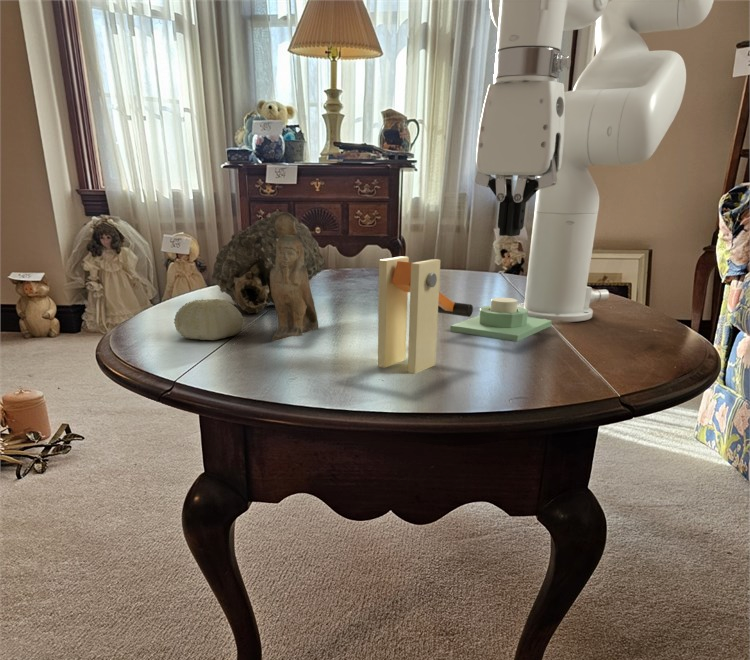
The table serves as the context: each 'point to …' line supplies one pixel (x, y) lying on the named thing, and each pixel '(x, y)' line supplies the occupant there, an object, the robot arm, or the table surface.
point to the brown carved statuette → (291, 283)
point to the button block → (502, 324)
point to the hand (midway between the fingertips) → (509, 235)
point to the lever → (444, 304)
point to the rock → (258, 262)
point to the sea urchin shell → (208, 320)
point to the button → (504, 305)
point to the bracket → (420, 317)
